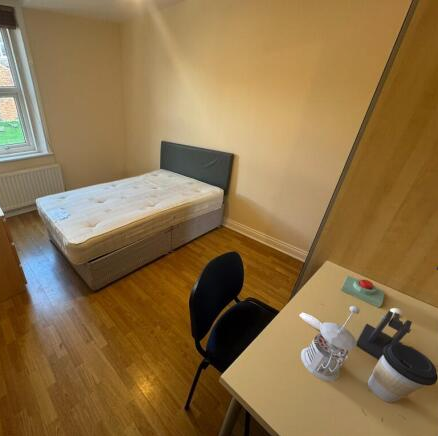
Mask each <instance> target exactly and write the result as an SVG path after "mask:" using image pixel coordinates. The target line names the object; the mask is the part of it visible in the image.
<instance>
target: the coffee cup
mask: <svg viewBox="0 0 438 436" xmlns="http://www.w3.org/2000/svg"><path fill="white" fill-rule="evenodd" d="M437 372H438V371H437V368H436V366H435V365H434V363H433V362H432V361H431V359H429V358H428V357H427V356H426V355H425V354H423V353H422V352H421V351H419V350H417V349H416V348H414V347H411V346H409V345H406V344H404V343H403V344H389V345H387V346H385V347H384V348H383V355H382V356H381V358H380V360H378V361H377V363H376V365H375V367H374V368H373V370H372V374H371V375H370V377H369V378H368V381H367V385H368V388H369V389H370V391H371V392H372V393H373V394H374V395H375V396H376V397H377V398H378V399H380V400H382V401H384V402H386V403H389V404H392V403H396V402H397V401H399V400H401V399H402V398H405V397H409V396H410V395H411V394H413V393H415V392H417V391H419V390H420V389H422V388H424V386H427V387H428V386H434V385H435V384H436V383H437V381H438V373H437Z"/></svg>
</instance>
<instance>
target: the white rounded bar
mask: <svg viewBox="0 0 438 436" xmlns="http://www.w3.org/2000/svg"><path fill="white" fill-rule="evenodd" d="M299 318H301V320H303V321H304V322H305V323H306V324H308V325H310V326H311V327H313V328H314V329H316V330H318V331H320V326H321V324H323V323H324V322H322V321H321V320H319V319H318V318H316V317H315V316H313V315H311V314H308V313H307V312H306V313H305V312H301V313H300V314H299Z"/></svg>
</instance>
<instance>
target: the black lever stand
mask: <svg viewBox="0 0 438 436" xmlns="http://www.w3.org/2000/svg"><path fill="white" fill-rule="evenodd" d="M392 315H393V312H391V311H390V310H388V311H387V313H386V314H384V315H382V316H381V318H380V322H379V323H378V324H377V325H376V326H375V327H374V326H372V325H371V324H368V323H366V324H365V326H364V327H363V329H362V331H361V333H360V335H359V336H358V338H357V340H356V342H357V345H356V348H359V349H360V350H362V351H363V352H365V353H366V354H368V355H370V356H371V357H373V358H374V359H376V360H378V361H379V360H380V358H381V356H382V355H383V348H384V347H385V346H387V345H389V344H403V345H404V343H403V342H401V340H402V339H403V338H404V337H405V336H406V335H407V334H410V332H411V331H412V328H411V326H412V323H413V321H411V320H409V319H407V320H405V322H403V325H402V327H401V328H400V329H399V331H397V330H396V332H395V333H394V335H393V336H390V335H388V334H387V333H385V332H383V330H384V329H385V328H386V326H387V325H389V322H390V321H391V319H392V318H393V316H392Z"/></svg>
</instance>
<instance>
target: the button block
mask: <svg viewBox="0 0 438 436" xmlns="http://www.w3.org/2000/svg"><path fill="white" fill-rule="evenodd" d="M361 280H362V279H361V278H360V279H359V278H358V279H357V278H355V277H352V276H350V275H346V277H345V279H344V281H343V283H342V285H341V288H340V291H341V292H343V293H345V294H348V295H350V296H352V297H355V298H357V299H359V300H361V301H363V302H365V303H367V304H370V305H372V306H374V307H376V308H378V309H380V308H381V306H382V305H383V302H384V298H385V293H386V291H385V290H384V289H381V288H379V287H376V286H375V284H373V287H372V288H371V289H365V288H363V287H362V286H360V282H361Z"/></svg>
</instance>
